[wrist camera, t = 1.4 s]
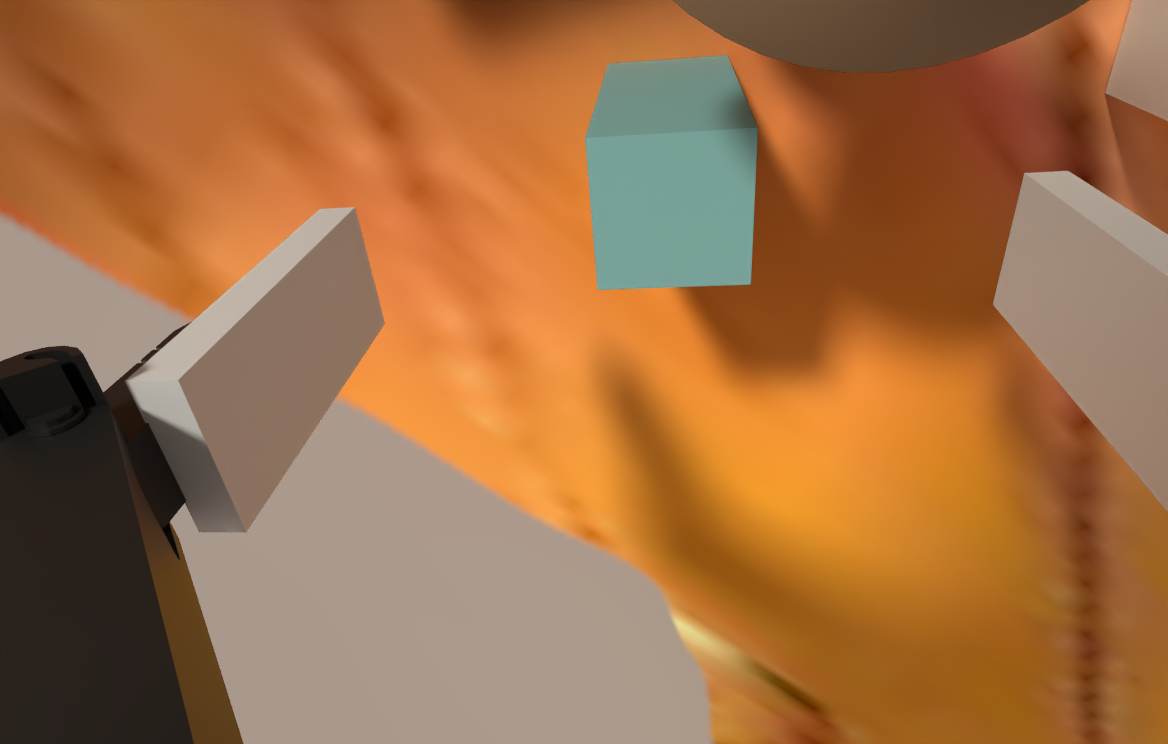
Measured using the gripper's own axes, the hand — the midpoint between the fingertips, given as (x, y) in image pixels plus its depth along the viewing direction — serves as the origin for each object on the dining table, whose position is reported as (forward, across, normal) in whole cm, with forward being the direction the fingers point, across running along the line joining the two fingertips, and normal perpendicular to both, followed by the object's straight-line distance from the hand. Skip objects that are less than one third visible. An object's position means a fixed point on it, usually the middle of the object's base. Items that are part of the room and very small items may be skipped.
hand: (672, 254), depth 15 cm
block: (+9, 0, 0) cm, 9 cm away
